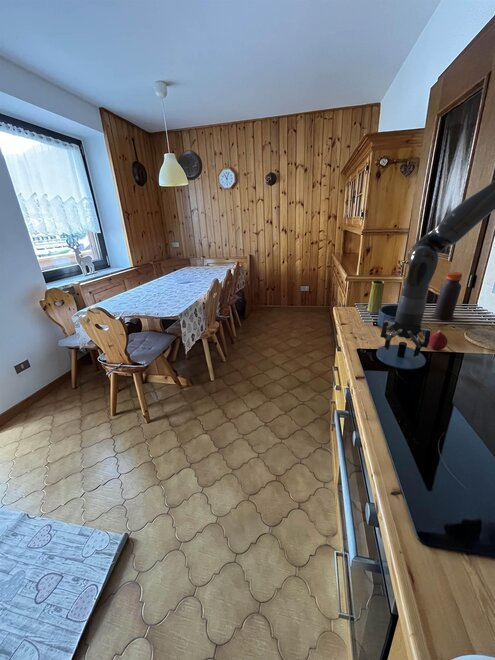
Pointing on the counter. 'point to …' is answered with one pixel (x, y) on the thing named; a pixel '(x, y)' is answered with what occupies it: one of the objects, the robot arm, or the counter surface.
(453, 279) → the bottle
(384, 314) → the pot
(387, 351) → the lid
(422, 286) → the robot arm
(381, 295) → the vase
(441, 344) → the onion
